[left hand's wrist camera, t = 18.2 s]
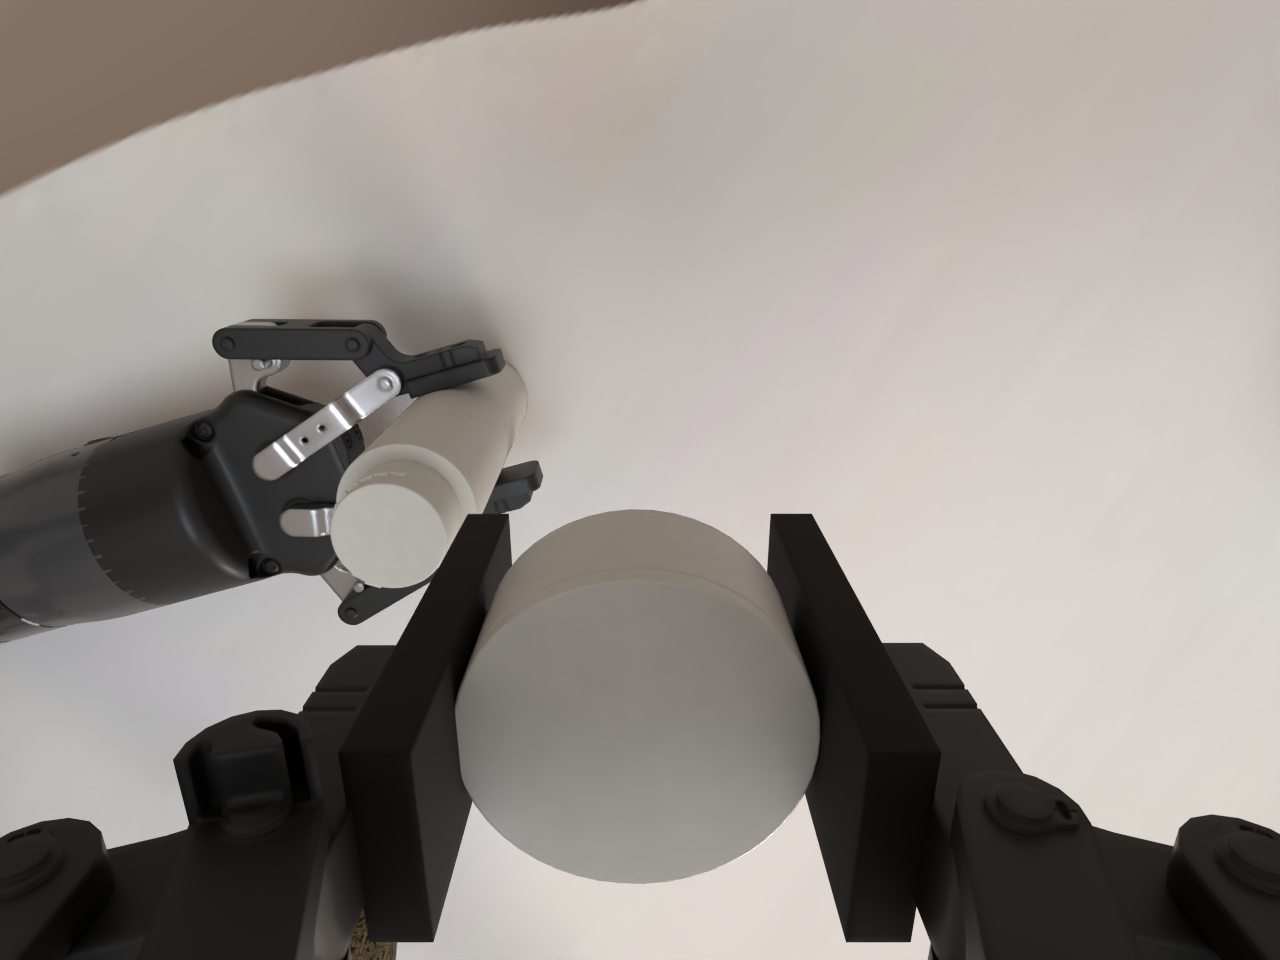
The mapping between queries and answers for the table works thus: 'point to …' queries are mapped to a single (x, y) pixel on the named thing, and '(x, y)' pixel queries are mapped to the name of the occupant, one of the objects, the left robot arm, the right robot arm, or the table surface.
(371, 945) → the cup
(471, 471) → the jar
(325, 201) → the table surface
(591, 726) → the lid
